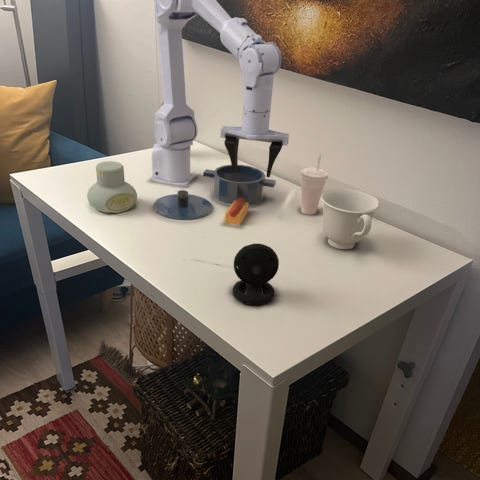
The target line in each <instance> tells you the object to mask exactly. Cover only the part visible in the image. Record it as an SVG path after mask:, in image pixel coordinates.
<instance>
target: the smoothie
mask: <svg viewBox="0 0 480 480" xmlns="http://www.w3.org/2000/svg"><path fill="white" fill-rule="evenodd" d="M321 156H322V153H321V152H318V155H317V162H316V166H315V167H311V166H309V167H304V168H302V169H301V170H300V173H299V176H300V177H301V179H300V180H301V181H300V188H301V189H300V212H301V213H302V214H304V215H315V214H317V211H318V207H319V204H320V201H321V195H322V194H323V191H324V188H325V183H326V181H327V180H328V178H329V177H328V176H329V173H328V171H326V169H322V168H320V163H321V158H322V157H321Z"/></svg>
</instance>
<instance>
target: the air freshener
mask: <svg viewBox="0 0 480 480" xmlns="http://www.w3.org/2000/svg"><path fill="white" fill-rule="evenodd" d="M124 168H125V167H124V165H123V164H122V163H121V162H119V161H112V160H111V161H109V160H108V161H107V160H106V161H101V162H98V163H97V164H96V166H95V171H96V172H95V173H96V182H94V183H93V184H92V185H91V186H90V187H89V188H88V191H87V193H86V198H87V201H88V203H89V205H90V206H91V207H92V208H94V209H95V210H97V211H99V212H102V213H107V214H118V213H123V212H126V211H128V210H129V209H131V208H132V207H133V206H134V205H135V204H136V202H137V199H138V193H137V191H136V189H135V187H134V186H133V185H131V184H130V183H129V182H127V181H125V179H126V178H125V169H124Z"/></svg>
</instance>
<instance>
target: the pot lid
mask: <svg viewBox="0 0 480 480" xmlns="http://www.w3.org/2000/svg"><path fill="white" fill-rule="evenodd" d="M212 209H213V206H212V203H211V202H210V201H209V200H208V199H206V198H205V197H202V196H199V195H196V194H195V195H194V194H189V192H188V191H187V190H184V189H180V190H178V191H177V193H174V194H168V195H164V196H161V197H159V198H157V199H156V200H155V201H154V203H153V210H154V211H155V212H156V213H157V214H158V215H160V216H162V217H164V218H167V219H172V220H178V221H180V220H181V221H187V220H188V221H189V220H197V219H200V218H201V219H202V218H204V217H206V216H208V215H209V214H210V213H211V211H212Z"/></svg>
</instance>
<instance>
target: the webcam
mask: <svg viewBox="0 0 480 480" xmlns="http://www.w3.org/2000/svg"><path fill="white" fill-rule="evenodd" d="M233 259H234V260H233V271H234V274H235V275H236V277H237V278H238V279H239V281H236V282H235V283H234V285H233V287H232V294H233V297H234V298H235V299H236V300H237V301H239V302H241V303H243V304H246V305H250V306H261V305H265V304H268V303H270V302H272V300H273V299H274V297H275V293H276V291H275V288H274V287H273V285H272V284H271V283H269V282H270V281H271V280H273V278H274V277H275V276H276V274H277V273H278V271H279V265H280V261H279V257H278V254H277V253H276V251H274V249H273V248H272V247H271V246H268V245H266V244H263V243H251V244H247V245H244V246H243V247H242V248H240V249H239V250H238V251H237V253H236V254H235V256H234V258H233ZM244 288H245V291H246V292H245V293H244V292H242V289H244ZM263 290H264V291H265V292H266V293H265V294H264V292H263Z"/></svg>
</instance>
